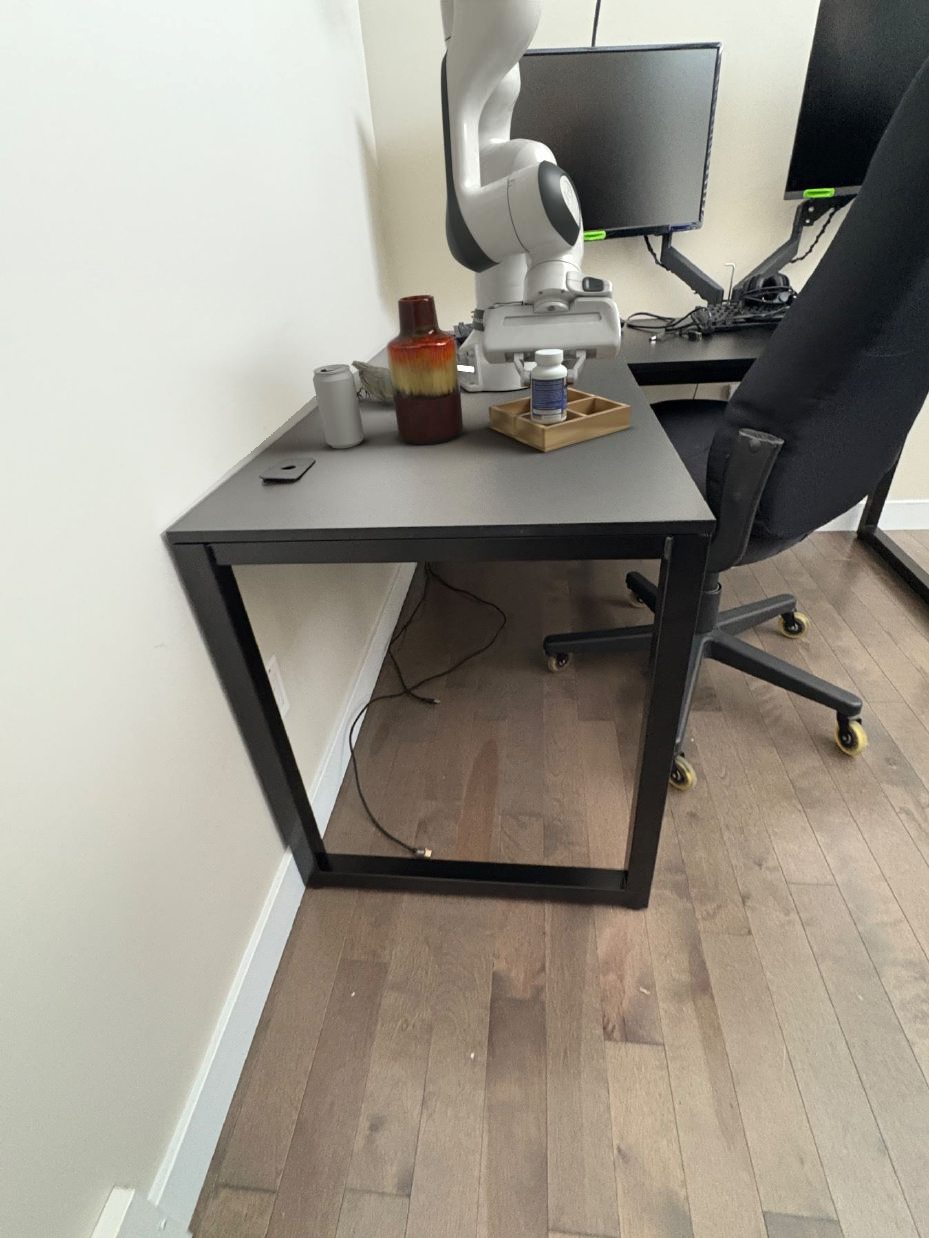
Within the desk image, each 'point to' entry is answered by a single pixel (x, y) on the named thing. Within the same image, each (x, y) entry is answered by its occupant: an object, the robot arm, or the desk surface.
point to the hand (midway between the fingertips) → (548, 384)
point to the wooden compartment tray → (582, 421)
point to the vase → (424, 375)
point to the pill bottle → (548, 387)
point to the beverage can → (338, 405)
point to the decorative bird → (375, 381)
